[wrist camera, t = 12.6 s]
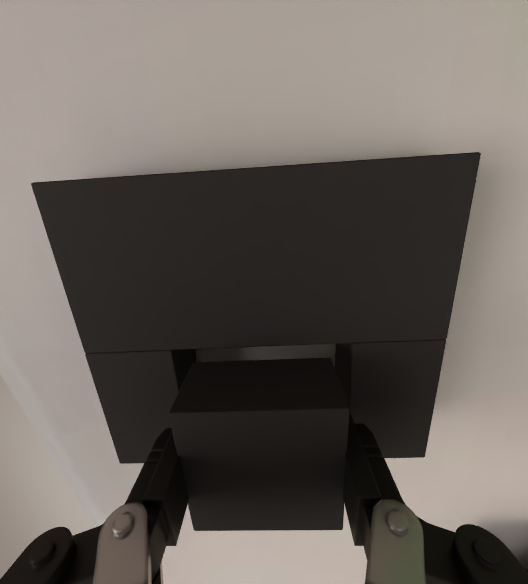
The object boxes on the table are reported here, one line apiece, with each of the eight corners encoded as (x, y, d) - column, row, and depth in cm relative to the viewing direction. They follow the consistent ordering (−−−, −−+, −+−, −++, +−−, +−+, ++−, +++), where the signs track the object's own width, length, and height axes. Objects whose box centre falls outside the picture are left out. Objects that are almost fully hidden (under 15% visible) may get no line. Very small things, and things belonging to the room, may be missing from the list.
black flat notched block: (144, 420, 17) (119, 463, 14) (84, 186, 12) (29, 182, 10) (398, 413, 16) (425, 458, 13) (431, 163, 12) (482, 151, 9)
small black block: (209, 462, 14) (193, 531, 11) (192, 361, 12) (167, 413, 9) (327, 460, 13) (343, 530, 10) (330, 356, 11) (350, 409, 8)
